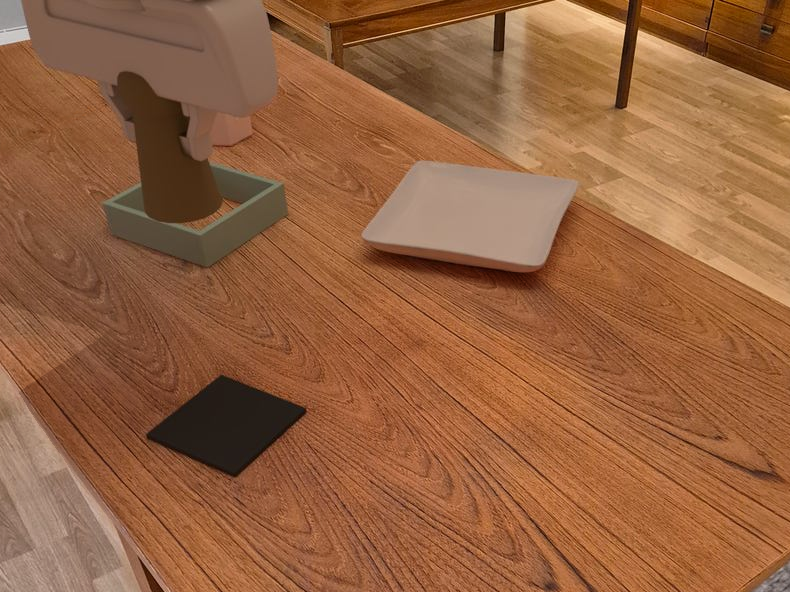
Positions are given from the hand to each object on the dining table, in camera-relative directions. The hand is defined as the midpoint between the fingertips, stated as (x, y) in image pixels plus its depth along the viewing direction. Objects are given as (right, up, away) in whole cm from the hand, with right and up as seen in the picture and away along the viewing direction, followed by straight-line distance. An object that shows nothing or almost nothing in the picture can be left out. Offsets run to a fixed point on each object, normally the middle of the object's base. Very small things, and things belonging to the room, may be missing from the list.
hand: (170, 148), depth 67 cm
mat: (+1, -20, +13) cm, 24 cm away
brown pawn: (0, -3, +3) cm, 5 cm away
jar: (-13, +23, +58) cm, 63 cm away
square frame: (-10, +6, +39) cm, 41 cm away
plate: (+23, +4, +39) cm, 45 cm away
